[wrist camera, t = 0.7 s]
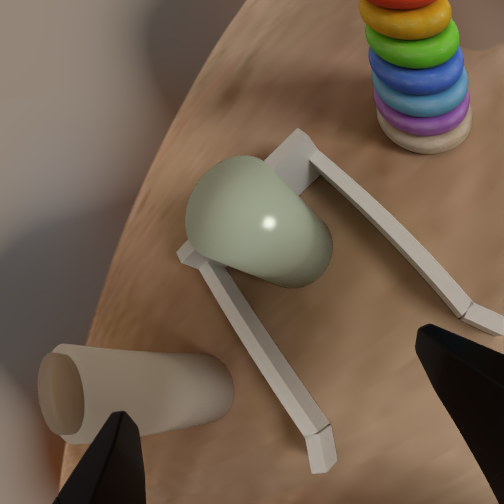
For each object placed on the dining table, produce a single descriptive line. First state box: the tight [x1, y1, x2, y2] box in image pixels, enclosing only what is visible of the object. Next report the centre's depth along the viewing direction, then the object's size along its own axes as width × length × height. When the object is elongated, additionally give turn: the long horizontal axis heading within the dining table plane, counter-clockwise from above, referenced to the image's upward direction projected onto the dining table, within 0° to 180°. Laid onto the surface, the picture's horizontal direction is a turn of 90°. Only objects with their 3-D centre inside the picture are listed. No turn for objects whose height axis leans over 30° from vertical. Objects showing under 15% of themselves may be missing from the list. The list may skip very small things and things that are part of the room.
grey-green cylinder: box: [185, 155, 333, 288], centre depth 21 cm, size 6×6×9 cm
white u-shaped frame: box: [176, 128, 504, 474], centre depth 20 cm, size 19×15×4 cm
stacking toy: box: [359, 0, 472, 154], centre depth 14 cm, size 8×8×19 cm
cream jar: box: [38, 344, 234, 445], centre depth 20 cm, size 6×6×14 cm
